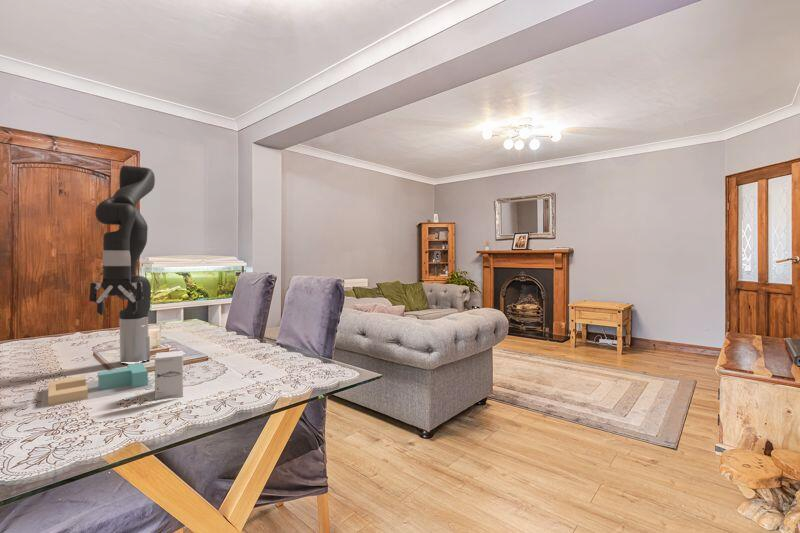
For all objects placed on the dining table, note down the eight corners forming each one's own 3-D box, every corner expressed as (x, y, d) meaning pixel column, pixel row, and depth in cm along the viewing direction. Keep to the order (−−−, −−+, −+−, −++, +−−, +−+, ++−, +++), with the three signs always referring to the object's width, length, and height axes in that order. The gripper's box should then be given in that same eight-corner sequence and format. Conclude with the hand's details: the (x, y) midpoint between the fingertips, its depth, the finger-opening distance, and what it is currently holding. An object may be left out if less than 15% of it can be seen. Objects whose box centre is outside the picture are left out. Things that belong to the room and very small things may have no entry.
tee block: (141, 375, 135) (141, 362, 135) (147, 385, 126) (147, 371, 125) (97, 383, 127) (97, 369, 127) (100, 393, 118) (100, 378, 118)
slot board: (144, 375, 138) (143, 365, 138) (153, 390, 124) (153, 379, 124) (43, 392, 121) (42, 381, 121) (40, 411, 107) (40, 398, 107)
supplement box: (154, 401, 115) (153, 358, 114) (156, 393, 122) (155, 352, 121) (183, 397, 118) (182, 355, 118) (183, 389, 125) (183, 349, 124)
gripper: (144, 264, 136) (145, 311, 137) (94, 264, 131) (94, 313, 132) (139, 264, 129) (140, 314, 130) (86, 264, 124) (86, 316, 125)
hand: (117, 313), depth 131 cm, fingers open, 8 cm apart
